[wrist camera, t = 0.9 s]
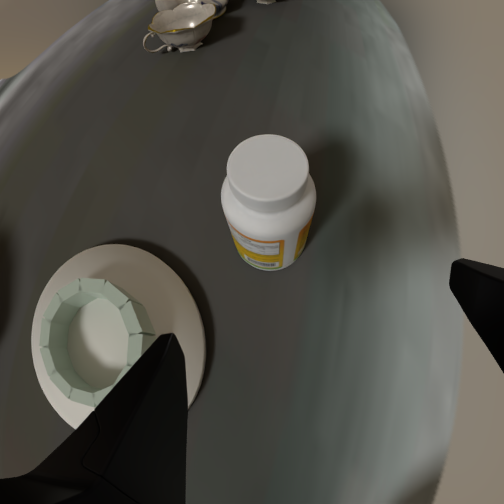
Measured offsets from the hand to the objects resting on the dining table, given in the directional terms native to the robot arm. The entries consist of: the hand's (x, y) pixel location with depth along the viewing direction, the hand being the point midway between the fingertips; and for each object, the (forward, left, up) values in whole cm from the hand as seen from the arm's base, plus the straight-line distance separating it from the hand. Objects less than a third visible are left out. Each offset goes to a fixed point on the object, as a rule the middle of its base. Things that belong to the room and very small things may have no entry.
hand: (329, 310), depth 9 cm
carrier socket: (-9, +11, -13) cm, 19 cm away
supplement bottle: (+5, +5, -13) cm, 15 cm away
